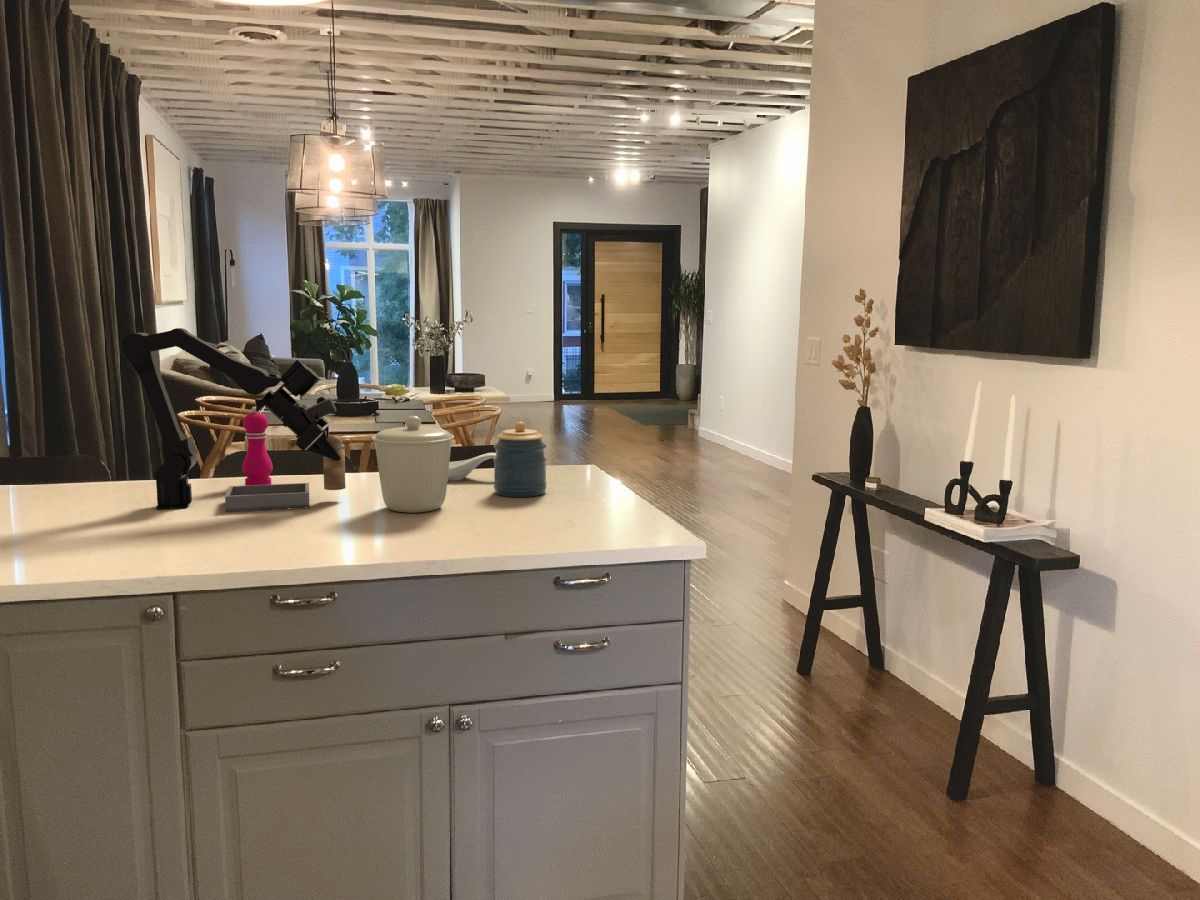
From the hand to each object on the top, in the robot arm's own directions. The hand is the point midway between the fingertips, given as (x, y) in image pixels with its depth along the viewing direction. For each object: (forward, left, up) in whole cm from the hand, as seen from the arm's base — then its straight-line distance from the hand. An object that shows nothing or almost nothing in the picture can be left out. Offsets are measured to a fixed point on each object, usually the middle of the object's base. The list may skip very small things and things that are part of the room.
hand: (340, 457), depth 218 cm
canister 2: (+42, -1, -10) cm, 44 cm away
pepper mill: (-20, +25, -10) cm, 33 cm away
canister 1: (+15, -13, -10) cm, 23 cm away
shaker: (-1, 0, -7) cm, 7 cm away
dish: (-16, 0, -10) cm, 19 cm away
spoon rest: (+34, +21, -11) cm, 42 cm away
